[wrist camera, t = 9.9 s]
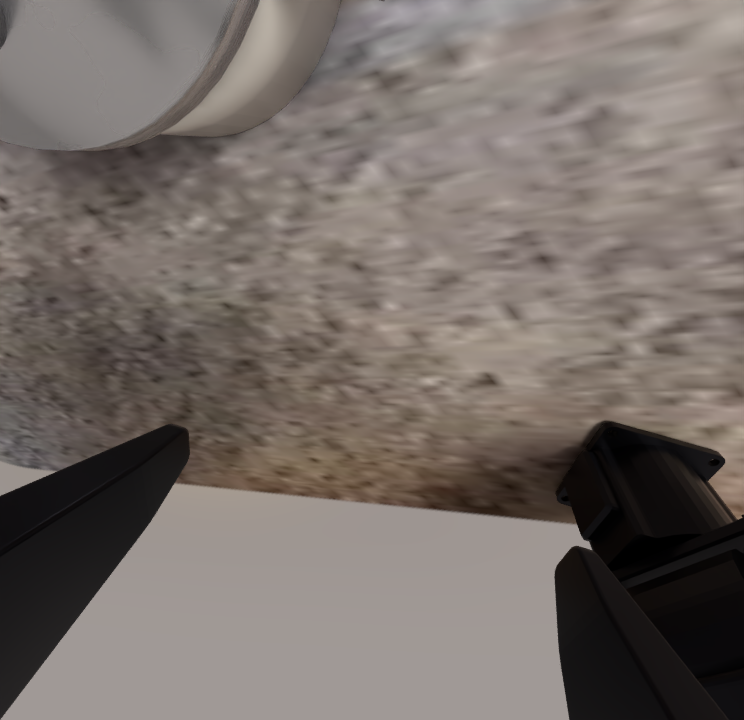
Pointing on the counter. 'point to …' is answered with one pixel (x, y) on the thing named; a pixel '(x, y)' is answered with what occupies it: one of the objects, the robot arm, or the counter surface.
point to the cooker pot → (264, 68)
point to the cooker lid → (110, 67)
